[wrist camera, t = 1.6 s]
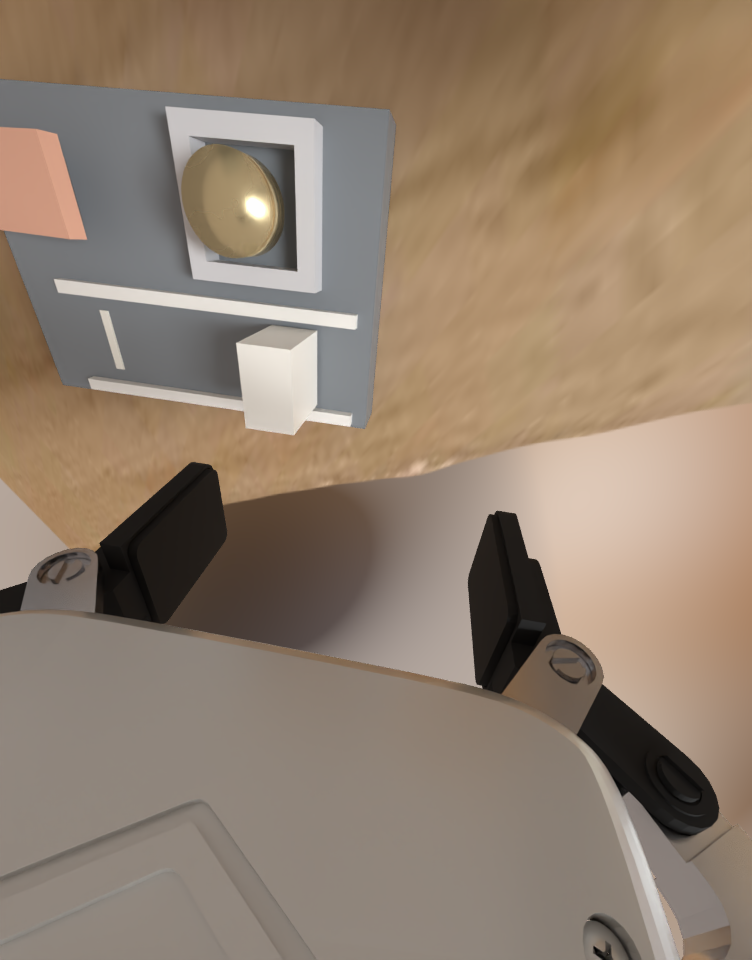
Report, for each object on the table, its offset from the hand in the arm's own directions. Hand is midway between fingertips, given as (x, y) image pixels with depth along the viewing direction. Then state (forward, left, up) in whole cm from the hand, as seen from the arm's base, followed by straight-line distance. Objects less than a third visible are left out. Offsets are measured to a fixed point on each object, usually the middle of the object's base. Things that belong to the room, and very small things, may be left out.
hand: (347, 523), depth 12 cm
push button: (+9, -8, -14) cm, 18 cm away
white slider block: (+7, 0, -15) cm, 17 cm away
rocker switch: (+21, -8, -13) cm, 26 cm away
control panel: (+14, -4, -18) cm, 23 cm away
